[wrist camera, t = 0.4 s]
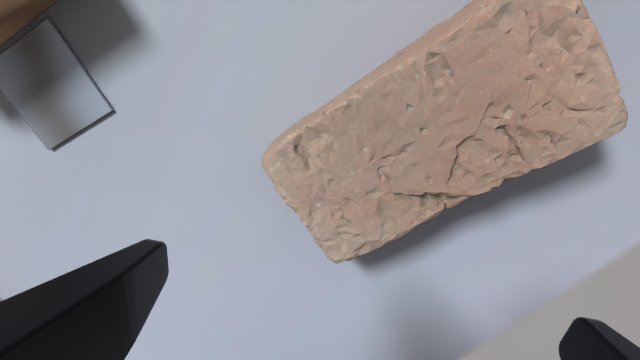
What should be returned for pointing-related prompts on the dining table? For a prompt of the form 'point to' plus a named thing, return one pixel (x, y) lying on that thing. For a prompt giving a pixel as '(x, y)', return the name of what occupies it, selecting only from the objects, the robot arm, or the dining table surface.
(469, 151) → the brick
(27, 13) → the structure
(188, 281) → the dining table surface
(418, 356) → the dining table surface
